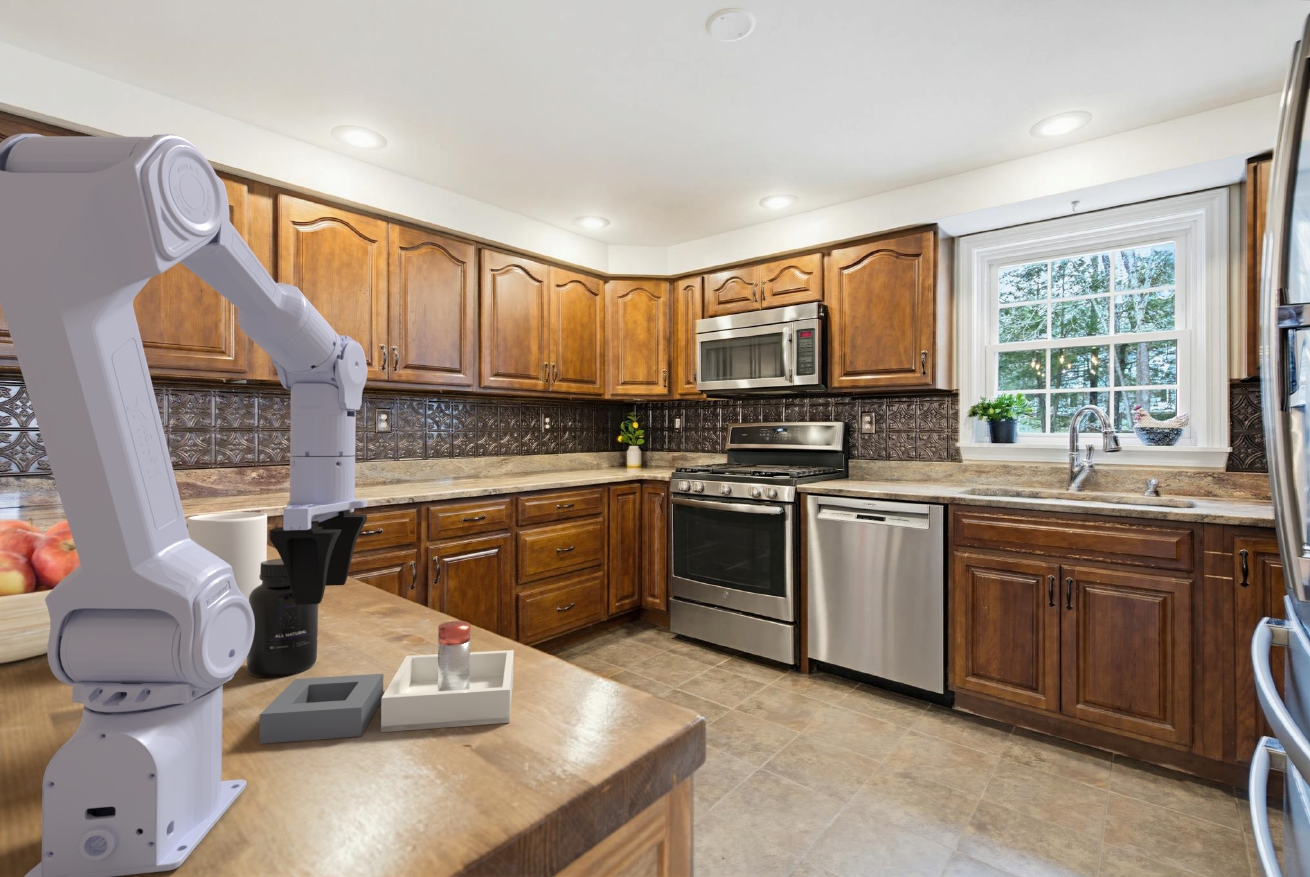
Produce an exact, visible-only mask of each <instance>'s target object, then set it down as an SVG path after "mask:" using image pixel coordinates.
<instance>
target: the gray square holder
mask: <svg viewBox="0 0 1310 877" xmlns="http://www.w3.org/2000/svg"><path fill="white" fill-rule="evenodd" d="M383 695H384V673H371V674H369V673H368V674H356V675H337V676H323V677H322V676H319V677H306V678H305V677H303V678H294V680H292V682H290V684H288V686H286V687H285V689H283V691H281V693H279V694H278V696H277V697H275V698H274V699H273V701H272V702H270V703H269V705H268V706H267V707H266V708H265V709H264V710H262V712H260V714H259V744H260V745H261V744H264V745H265V744H277V743H290V742H302V741H317V740H326V739H327V740H329V739H330V740H332V739H342V738H344V739H345V738H354V737H362V736H363V735H364V732H365V731H366V729H367V727H368V726H369V724H370V722H371V720H372V719H373V717H374V715H375V714H376V712H377V711H378V709H379V707H380V706H381V698H382V696H383Z"/></svg>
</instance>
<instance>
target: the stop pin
mask: <svg viewBox="0 0 1310 877" xmlns="http://www.w3.org/2000/svg"><path fill="white" fill-rule="evenodd" d="M437 629H438V631H437V632H438V636H437V640H438V641H437V642H438V644H437V654H438V682H437V691H451V690H467V689H469V685H470V652H471V623H470V622H468V621H464V620H463V621H462V620H456V621H455V620H454V621H448V622H443V623H441V624H439V625H438V628H437Z"/></svg>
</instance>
